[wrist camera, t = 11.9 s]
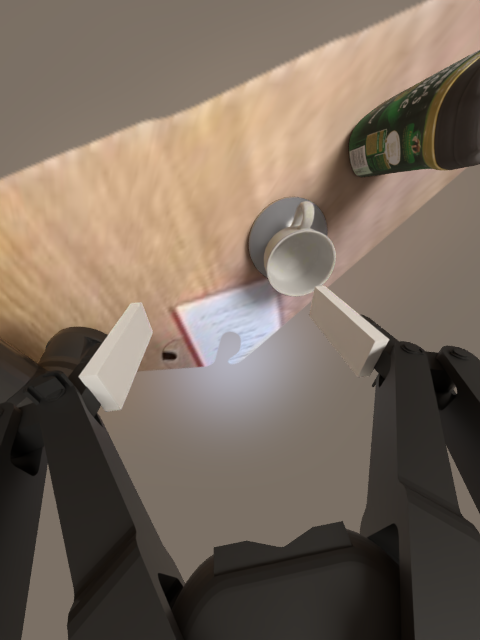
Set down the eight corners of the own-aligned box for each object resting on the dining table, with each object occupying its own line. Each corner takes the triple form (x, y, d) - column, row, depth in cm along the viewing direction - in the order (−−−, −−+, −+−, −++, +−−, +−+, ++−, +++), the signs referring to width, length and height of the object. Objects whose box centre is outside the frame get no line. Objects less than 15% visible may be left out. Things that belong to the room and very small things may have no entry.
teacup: (302, 282, 40) (319, 300, 34) (253, 276, 38) (260, 294, 32) (331, 207, 33) (360, 211, 26) (271, 194, 31) (285, 195, 24)
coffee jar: (409, 82, 26) (677, -67, 11) (410, 149, 30) (605, 108, 15) (340, 129, 28) (485, 60, 13) (350, 186, 32) (468, 183, 17)
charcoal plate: (249, 280, 40) (250, 283, 39) (247, 199, 32) (248, 200, 31) (316, 275, 41) (319, 277, 40) (331, 194, 33) (335, 194, 32)
